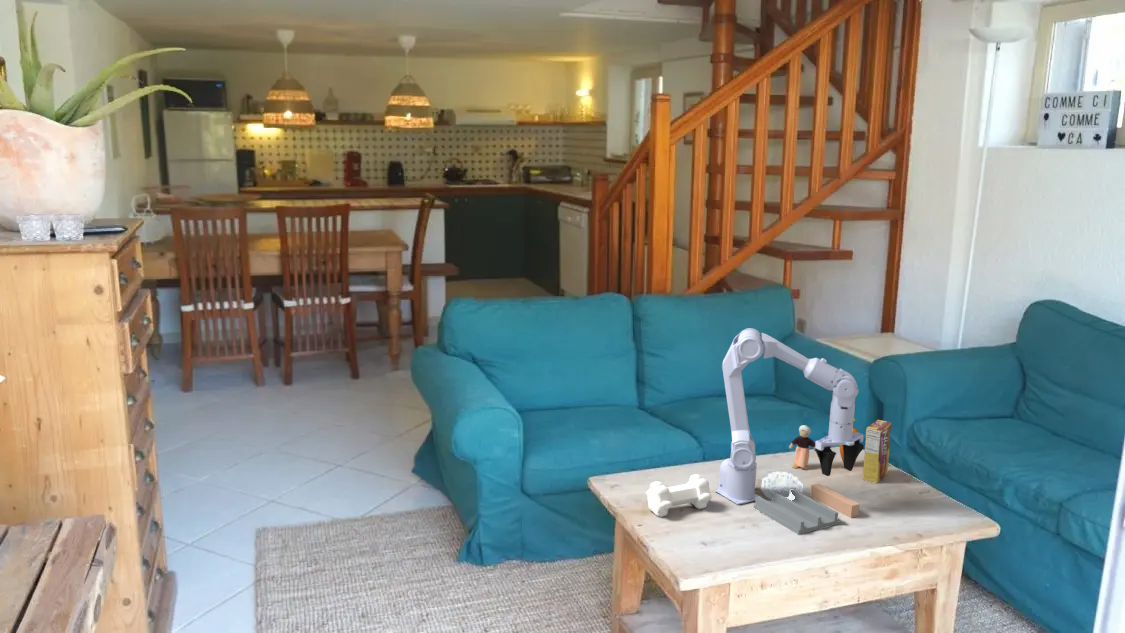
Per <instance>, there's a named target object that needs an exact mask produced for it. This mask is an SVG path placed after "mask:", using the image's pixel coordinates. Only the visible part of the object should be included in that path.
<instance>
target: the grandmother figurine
mask: <svg viewBox="0 0 1125 633" xmlns="http://www.w3.org/2000/svg"><path fill="white" fill-rule="evenodd" d="M798 432H799V436H796V437H795V438H794V439H793V440H791V443H790V445H789V446H788V448H789V449H791V450H792V449H793V448H794V447H795V445H797V446H796V448H795V453H794V459H793V464H792V465H791V468H793V469H799V468H800V469H801V470H804V471H806V470H809V468H808V465H809V460H810V447H811V448H813V451H814V452H816V451H815V444H816V441H814V440H813V439H811V438H810V437H809V435H810V434H811V433H812V430H811V428H810V427H809V426H808V425H807V424H805V425H804V424H803V425H802V424H801V425H800V426H799V428H798Z"/></svg>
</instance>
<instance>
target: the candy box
mask: <svg viewBox="0 0 1125 633" xmlns="http://www.w3.org/2000/svg"><path fill="white" fill-rule="evenodd" d="M891 429H892V422H891V421H886V420H880V419H877V420H875V421H874V422H873V423H871V424H870V425H869V426H867V427H866V430H865V431H866V432H865V442H864V443H865V444H864V455H863V456H864V459H863V472H862V480H863V481H865V480H867V482H869V481H871V482H870V483H873V482H875V483H874V484H878V483H879V482H880V481H881V480H882V479H884V477H886V475H888V472H889V471H888V469H889V459H890V458H889V457H890V444H891V443H890V442H891ZM877 482H878V483H877Z"/></svg>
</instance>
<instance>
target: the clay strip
mask: <svg viewBox="0 0 1125 633" xmlns="http://www.w3.org/2000/svg"><path fill="white" fill-rule="evenodd" d="M810 486H811V487H810V488H811V489H810V498H811V499H813V500H815V501H817V502H819V503H821V504H823V505H824V506H826V507H828V508H830V509H832V510H834V511H836V512H838V513H840V514H842V515H845V516H846V517H848V518H849V519H853V518H856V517H859V512H860V504H859V503H858V502H856V501H855V500H852V499H850V498H848V497H846V496H845V495H842V494H840V493H838V492H836V491H835V490H833V489H831V488H829V487H826V486H824V485H822V484H821V483H815V484H812V485H810Z"/></svg>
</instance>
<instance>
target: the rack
mask: <svg viewBox="0 0 1125 633" xmlns="http://www.w3.org/2000/svg"><path fill="white" fill-rule="evenodd" d="M791 492H792V494H793V495H794V496H795V499H794V500H792V501H791V500H789V499H787V498H785V497H786V496H783V495H781V494H780V493H777V492H772V494H771V495H772V497H771V500H766V499H765V498H763V497H762V496H760V495H758V497H756V501H754V502H755V504H753V509H754V508H755V509H754V510H756V509H757V510H759V511H760V512H759V511H758V512H759V513H761V512H762V513H764V514H765V515H764V514H763V515H764V516H766V515H767V516H766V517H768V518H769V517H770V519H771V518H772V519H771V520H772V521H774V520H775V521H774V522H776V523H778V524H780V526H783V527H785V528H786V529H788V530H790V531H792V532H794V534H797V535H801V534H805V533H809V532H813V531H816V530H817V531H818V530H821V529H824V528H827V527H831V526H836V525H839V524H840V522H839V521H840V519H839V517H838V516H839V512H838V511H836V510H835V509H833V508H831V507H829V506H827V505H825V504H823V503H821V502H820V501H818V500H816V499H814V498H812V497H809V496H807V495H805V494H804V493H801V492H799V491H798V490H795V489H794V490H791ZM759 496H760V497H759ZM761 497H762V498H761ZM757 510H756V511H757ZM762 513H761V514H762Z"/></svg>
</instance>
